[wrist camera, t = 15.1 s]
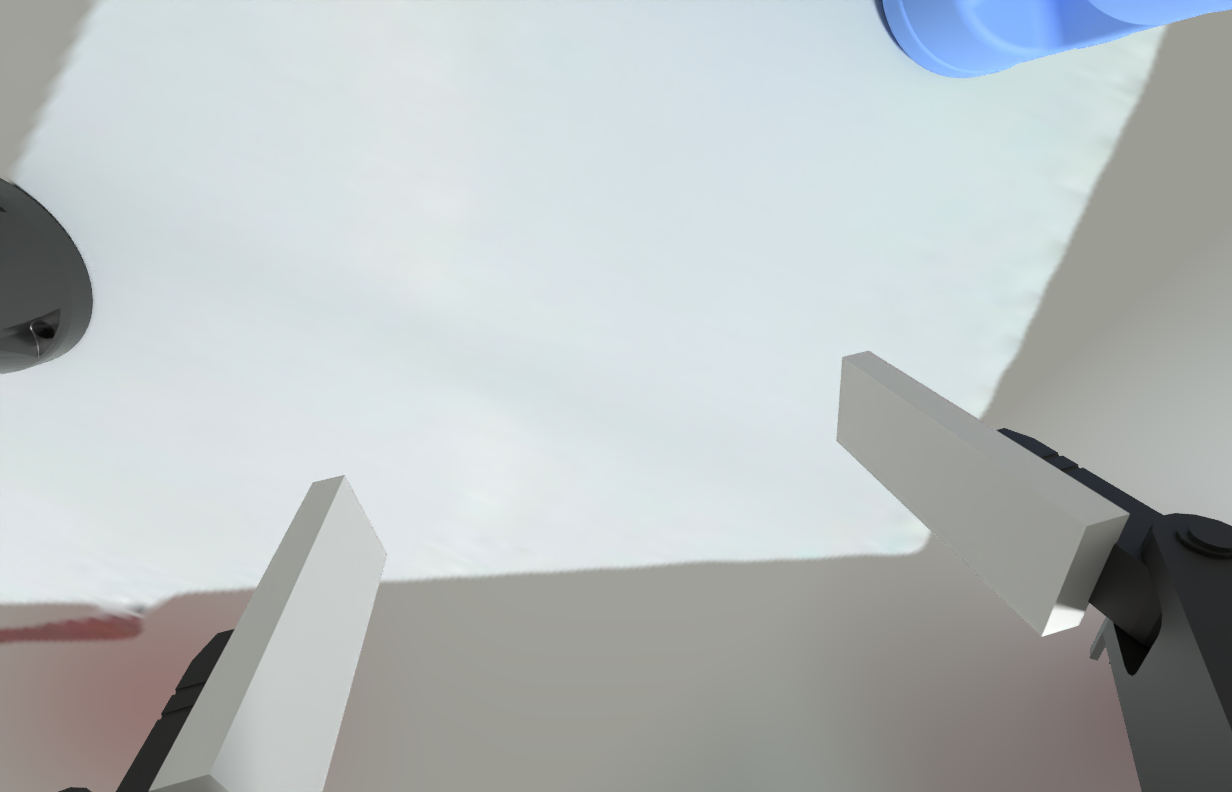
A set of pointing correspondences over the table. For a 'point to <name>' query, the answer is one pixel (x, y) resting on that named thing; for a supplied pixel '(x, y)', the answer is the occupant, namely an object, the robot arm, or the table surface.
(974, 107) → the table surface
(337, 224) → the table surface
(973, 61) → the water jug
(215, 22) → the table surface
